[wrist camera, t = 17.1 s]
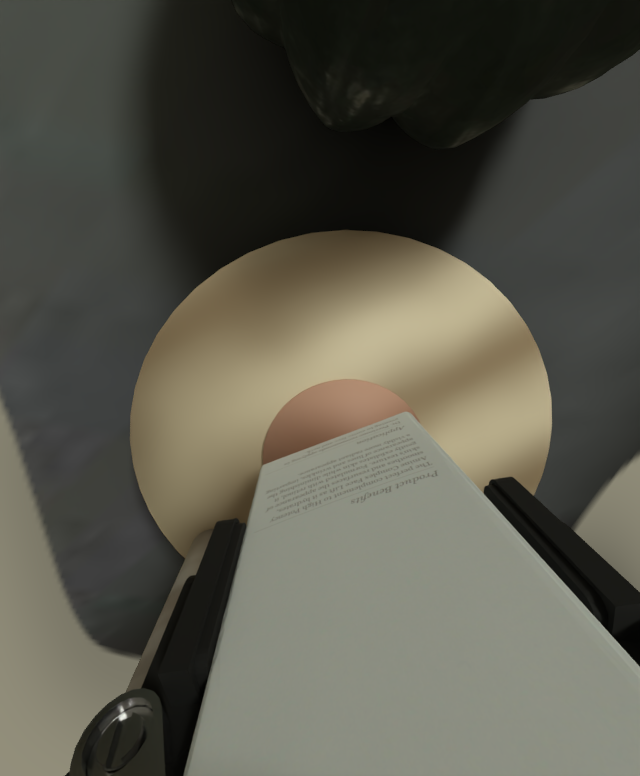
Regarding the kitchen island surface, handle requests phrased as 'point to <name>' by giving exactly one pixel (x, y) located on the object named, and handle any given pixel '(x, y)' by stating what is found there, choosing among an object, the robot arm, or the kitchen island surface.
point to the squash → (441, 57)
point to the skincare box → (404, 631)
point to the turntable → (327, 377)
